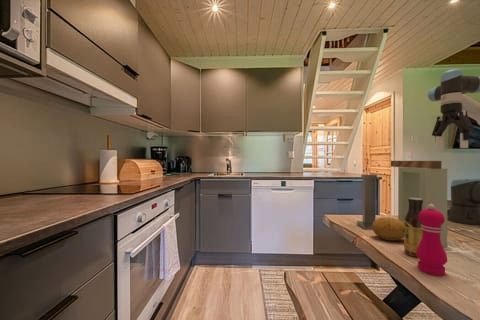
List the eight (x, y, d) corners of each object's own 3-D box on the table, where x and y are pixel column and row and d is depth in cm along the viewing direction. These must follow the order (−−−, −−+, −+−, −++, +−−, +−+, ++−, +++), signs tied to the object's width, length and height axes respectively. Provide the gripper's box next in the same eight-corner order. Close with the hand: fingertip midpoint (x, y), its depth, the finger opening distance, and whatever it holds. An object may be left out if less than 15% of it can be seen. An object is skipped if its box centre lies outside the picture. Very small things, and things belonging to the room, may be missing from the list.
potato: (410, 247, 87) (410, 222, 87) (370, 239, 95) (370, 217, 95) (409, 240, 95) (410, 217, 95) (372, 234, 103) (373, 213, 103)
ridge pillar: (357, 224, 117) (357, 174, 117) (373, 225, 116) (373, 174, 116) (364, 229, 109) (364, 175, 109) (381, 229, 108) (381, 175, 108)
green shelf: (398, 231, 105) (398, 167, 105) (416, 232, 105) (416, 167, 105) (425, 245, 88) (425, 168, 89) (447, 246, 88) (447, 168, 88)
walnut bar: (390, 166, 116) (390, 160, 116) (397, 166, 116) (397, 160, 116) (433, 168, 88) (433, 160, 88) (441, 168, 88) (441, 160, 88)
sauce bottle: (404, 249, 84) (405, 196, 85) (426, 254, 81) (426, 197, 81) (403, 255, 79) (403, 198, 79) (426, 260, 75) (426, 200, 76)
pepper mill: (453, 277, 64) (454, 206, 64) (424, 275, 66) (424, 205, 66) (437, 266, 71) (437, 202, 71) (411, 264, 73) (411, 201, 73)
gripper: (423, 109, 120) (423, 149, 120) (467, 96, 95) (467, 147, 95) (438, 109, 120) (438, 149, 120) (486, 96, 95) (486, 147, 95)
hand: (451, 148), depth 108 cm, fingers open, 13 cm apart
